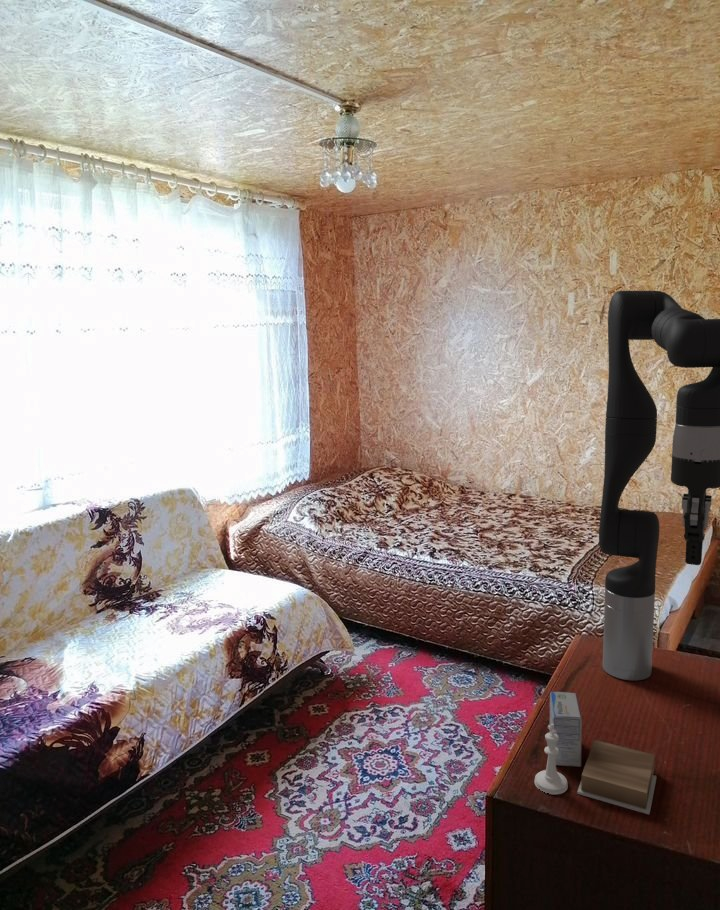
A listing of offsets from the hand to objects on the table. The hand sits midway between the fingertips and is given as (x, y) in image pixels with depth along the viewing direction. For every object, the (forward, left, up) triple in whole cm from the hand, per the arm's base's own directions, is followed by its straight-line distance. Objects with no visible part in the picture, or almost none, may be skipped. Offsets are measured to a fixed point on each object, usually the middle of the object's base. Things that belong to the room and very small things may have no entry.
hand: (693, 563), depth 105 cm
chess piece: (+18, -17, -32) cm, 41 cm away
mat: (+14, -8, -32) cm, 36 cm away
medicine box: (+9, -17, -32) cm, 38 cm away
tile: (+8, -8, -30) cm, 32 cm away
